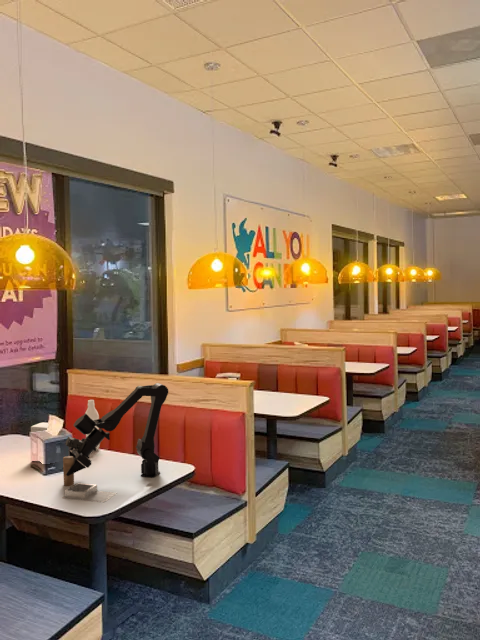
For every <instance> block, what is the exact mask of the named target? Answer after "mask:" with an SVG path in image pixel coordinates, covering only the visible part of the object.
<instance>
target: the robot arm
mask: <svg viewBox="0 0 480 640" xmlns="http://www.w3.org/2000/svg"><path fill="white" fill-rule="evenodd" d="M168 395H169V387H168V386H166V385H165V384H162V383H160V382H156V383H154V384H151V385H137V386H136V387H135V388H134V389H133V390H132V392H131V393H130V394H128V395H127V397H125V399H123V401H121V403H120V404H119V405H117V406H116V408H114V409H112V410H111V411H109V412H107V413H106V414H104V415H102V416H101V418H99V419H97V420H92V419H91V418H90V417H89V416H88V415H87V414H86V412H85V413H84V414H82V415H81V416H79V417H78V418H77V419H76V420H75V422H74V423H73V427H74V428H75V429H76V430H77V431H79V432H80V433H81V434H82V435H84V436H85V437H83V438H82V439H81V440H80V439H79V438H76V437H71V436H68V437H67V439H66V440H65V446H67V447H68V450H67V451H68V456H73V462H74V463H73V464H72V466H71V467H70V469H69V470H68V472H67V473H66V475H67V476H69V475H71V474H73V473H74V474H76V473H78V472H79V471H82V470H85V469H89V468H90V466H91V465H92V460H91V459H90V455H91V454H92V453H93V452H94V451H95V452H96V451H97V450H96V447H97V446H98V445H99V444H100V445H101V442H103V440H105V439H106V440H108V441H110V440H111V439H110V436H111V434H110V432H112V431H114V430H115V429H116V428H117V427H118V426H119V424H120V422H121V420H122V419H123V418H124V417H123V416H124V415H126V413H128V412H129V411H130V410H131V408H133V406H134V405H136V403H137V402H139V400H141V399H142V397H150V407H149V410H148V411H149V412H148V416H147V420H146V423H145V424H146V425H145V430H144V433H143V435H142V437H141V439H140V438H137V443H136V446H135V448H136V452H137V454H138V455H139V456H140V457H141V458H142V459H143V460H142V461H141V465H140V471H141V474H140V477H146V478H147V477H148V478H155V477H157V476H158V475H159V474H161V471H160V470H159V462H160V461H159V460H160V456H158V455H157V454H156V453H155V435H156V430H157V427H158V422H159V419H160V414H161V409H162V406H163V404H164V403H165V402H166V401H167V397H168ZM95 426H97V427H98V428H99V430H98V429H97V428H96V427H95ZM92 430H93V431H92ZM86 434H89V435H88V436H87V437H86Z"/></svg>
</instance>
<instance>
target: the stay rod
mask: <svg viewBox="0 0 480 640" xmlns="http://www.w3.org/2000/svg"><path fill="white" fill-rule="evenodd" d="M73 463H74V462H73V456H69V455H68V456H67V455H66V456H64V457H62V464H63V466H62V470H63V471H62V472H63V486H65V487H72V486H73V485H75V473H73V474H71V475H69V476H67V475H66V473H67V472H68V470H69V469H70V467H71V466H72V464H73Z"/></svg>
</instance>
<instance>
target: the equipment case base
mask: <svg viewBox="0 0 480 640" xmlns="http://www.w3.org/2000/svg"><path fill="white" fill-rule="evenodd" d="M78 491H82V490H78ZM83 492H84V491H83ZM116 495H118V492H110V491H102V490H97V492H95V493H94V494H92V495H91V496H89V497H88V498H86V499H79V498H70V497H65V495H64V496H63V497H61V498H62V499H67V500H76V501H87V502H94V503H95V502H97V503H105V502H107V501H108V500H110V499H111V498H113V497H114V496H116Z"/></svg>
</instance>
